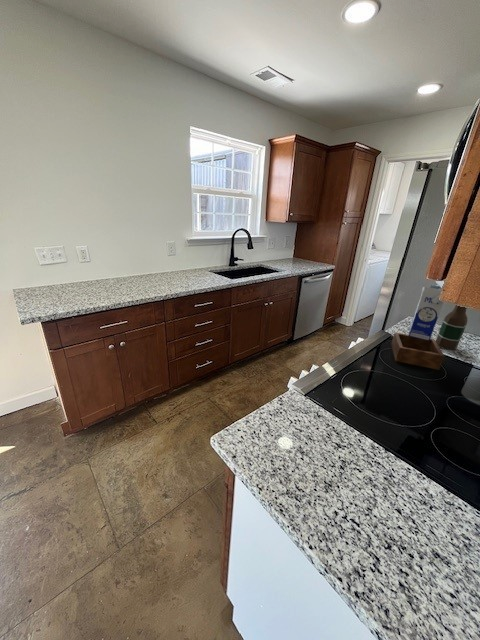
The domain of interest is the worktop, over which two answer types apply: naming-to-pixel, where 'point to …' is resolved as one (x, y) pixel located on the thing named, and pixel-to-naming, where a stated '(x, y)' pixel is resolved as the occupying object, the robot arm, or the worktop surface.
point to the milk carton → (426, 314)
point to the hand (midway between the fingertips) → (429, 298)
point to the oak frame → (417, 351)
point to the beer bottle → (452, 328)
